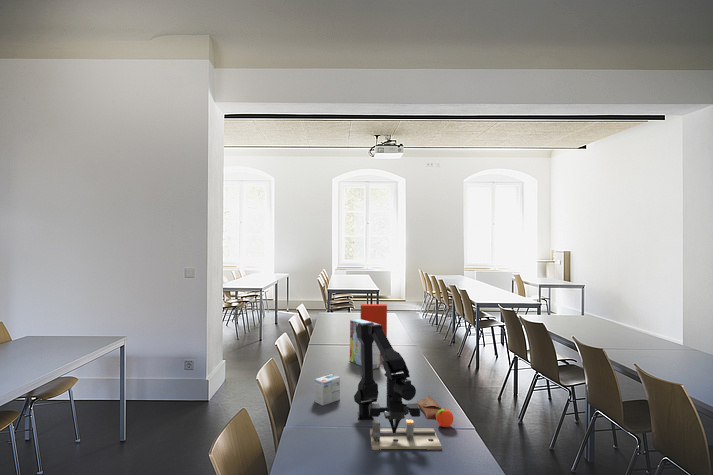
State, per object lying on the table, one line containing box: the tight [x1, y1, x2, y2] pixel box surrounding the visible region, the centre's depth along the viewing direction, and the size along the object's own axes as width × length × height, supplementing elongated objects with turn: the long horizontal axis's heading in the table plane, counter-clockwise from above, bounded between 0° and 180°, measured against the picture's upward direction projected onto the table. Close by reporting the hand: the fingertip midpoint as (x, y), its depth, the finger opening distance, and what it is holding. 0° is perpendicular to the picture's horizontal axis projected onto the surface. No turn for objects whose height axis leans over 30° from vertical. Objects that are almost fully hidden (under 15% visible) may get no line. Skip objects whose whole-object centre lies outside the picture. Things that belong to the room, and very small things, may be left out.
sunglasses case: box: [414, 395, 443, 420], centre depth 181 cm, size 18×7×7 cm
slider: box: [405, 419, 415, 440], centre depth 153 cm, size 4×3×6 cm, turn 1°
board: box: [369, 419, 443, 451], centre depth 154 cm, size 14×25×7 cm, turn 92°
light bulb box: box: [314, 373, 341, 406], centre depth 191 cm, size 11×7×11 cm, turn 135°
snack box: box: [349, 318, 381, 370], centre depth 248 cm, size 22×9×26 cm, turn 34°
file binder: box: [360, 303, 388, 356], centre depth 273 cm, size 8×17×32 cm, turn 88°
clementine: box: [435, 408, 454, 428], centre depth 165 cm, size 8×7×7 cm
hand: (394, 433), depth 153 cm, fingers closed
